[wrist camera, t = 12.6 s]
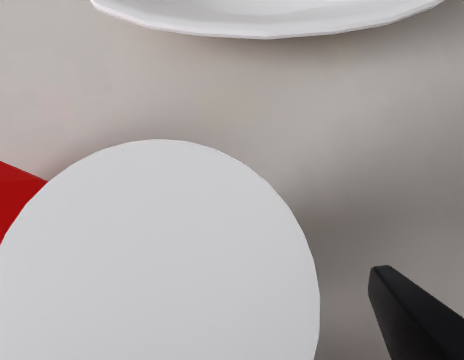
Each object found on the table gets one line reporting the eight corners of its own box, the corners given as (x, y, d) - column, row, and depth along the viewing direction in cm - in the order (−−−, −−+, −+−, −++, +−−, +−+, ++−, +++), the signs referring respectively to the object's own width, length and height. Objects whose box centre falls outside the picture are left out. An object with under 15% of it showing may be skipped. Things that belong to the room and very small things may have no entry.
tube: (241, 221, 19) (239, 96, 5) (272, 293, 18) (384, 406, 4) (172, 250, 19) (-49, 208, 5) (199, 325, 18) (26, 574, 4)
